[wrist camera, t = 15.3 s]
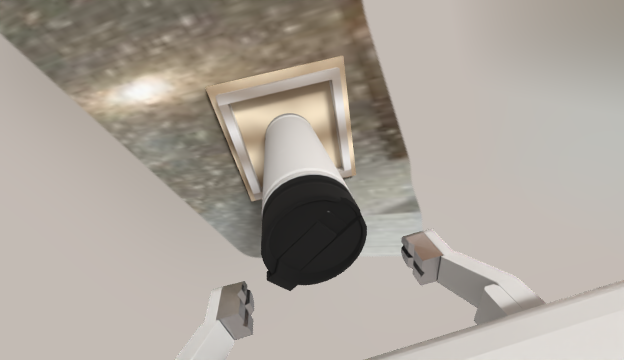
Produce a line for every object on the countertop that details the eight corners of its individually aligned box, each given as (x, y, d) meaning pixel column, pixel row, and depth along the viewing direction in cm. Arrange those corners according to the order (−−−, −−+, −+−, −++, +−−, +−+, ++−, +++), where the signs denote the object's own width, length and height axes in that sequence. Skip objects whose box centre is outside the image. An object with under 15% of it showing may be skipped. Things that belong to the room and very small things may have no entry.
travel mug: (253, 140, 29) (230, 267, 12) (287, 101, 27) (320, 181, 10) (289, 169, 32) (314, 305, 14) (322, 135, 30) (395, 242, 13)
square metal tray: (206, 86, 26) (201, 89, 24) (341, 55, 27) (347, 55, 25) (252, 198, 34) (251, 207, 32) (354, 172, 35) (359, 179, 33)
